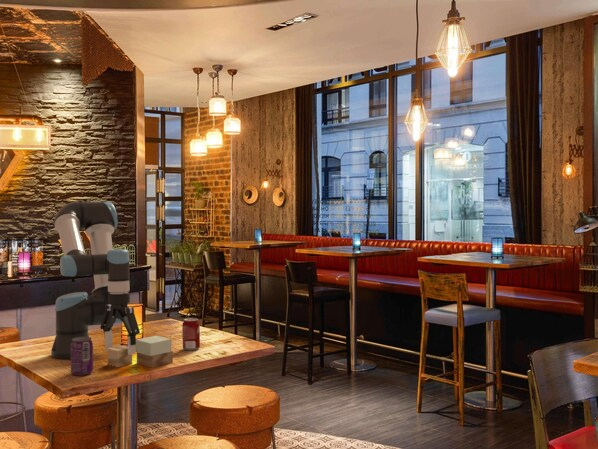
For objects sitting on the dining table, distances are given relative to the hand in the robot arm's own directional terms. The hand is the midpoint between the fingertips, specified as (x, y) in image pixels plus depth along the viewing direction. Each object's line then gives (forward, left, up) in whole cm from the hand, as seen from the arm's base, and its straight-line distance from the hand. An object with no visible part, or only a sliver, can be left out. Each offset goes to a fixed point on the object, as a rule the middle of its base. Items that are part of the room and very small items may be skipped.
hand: (120, 351), depth 224 cm
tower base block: (+12, +3, -5) cm, 13 cm away
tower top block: (+11, +3, -1) cm, 12 cm away
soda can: (+19, +25, -5) cm, 32 cm away
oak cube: (0, 0, -5) cm, 5 cm away
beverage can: (-8, -13, -5) cm, 16 cm away
